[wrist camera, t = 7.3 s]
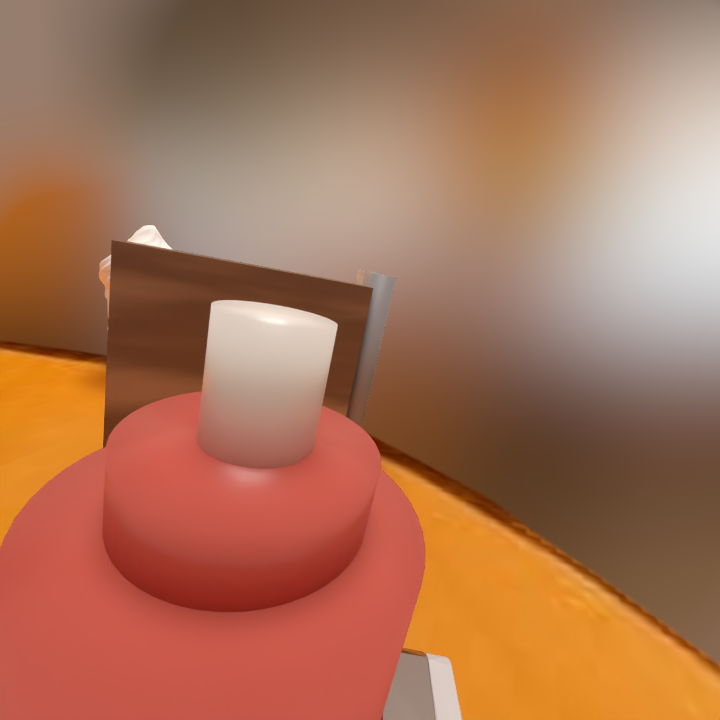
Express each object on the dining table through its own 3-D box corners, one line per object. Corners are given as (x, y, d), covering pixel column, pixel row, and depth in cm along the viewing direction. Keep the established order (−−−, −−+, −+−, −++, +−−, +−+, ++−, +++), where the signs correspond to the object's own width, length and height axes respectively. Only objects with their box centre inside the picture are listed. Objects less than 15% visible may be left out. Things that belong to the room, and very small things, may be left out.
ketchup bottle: (-7, 1470, 5) (-163, 425, 1) (28, 863, 9) (17, 254, 6) (352, 983, 9) (571, 380, 5) (254, 719, 13) (334, 298, 9)
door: (102, 475, 23) (112, 237, 19) (317, 450, 31) (350, 281, 28) (100, 506, 20) (111, 240, 17) (334, 470, 29) (373, 288, 25)
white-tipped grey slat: (345, 724, 13) (462, 293, 10) (324, 437, 35) (358, 269, 31) (406, 723, 14) (542, 310, 10) (349, 440, 35) (385, 275, 32)
